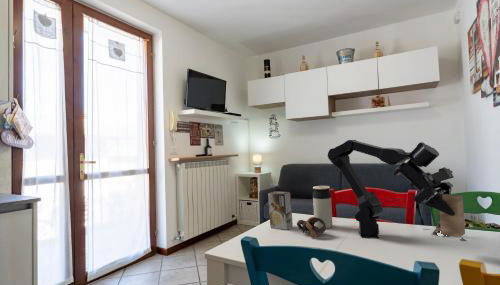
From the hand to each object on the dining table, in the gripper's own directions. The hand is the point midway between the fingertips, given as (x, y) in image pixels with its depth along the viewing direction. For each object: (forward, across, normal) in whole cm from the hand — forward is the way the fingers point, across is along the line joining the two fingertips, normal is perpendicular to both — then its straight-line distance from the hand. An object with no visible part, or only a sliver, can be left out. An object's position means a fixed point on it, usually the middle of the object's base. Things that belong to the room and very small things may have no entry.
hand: (456, 213), depth 87 cm
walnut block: (+4, 0, +6) cm, 7 cm away
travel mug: (-26, -1, +46) cm, 53 cm away
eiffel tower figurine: (+2, +20, +18) cm, 27 cm away
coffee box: (-36, -15, +55) cm, 68 cm away
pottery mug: (-24, -14, +43) cm, 51 cm away
